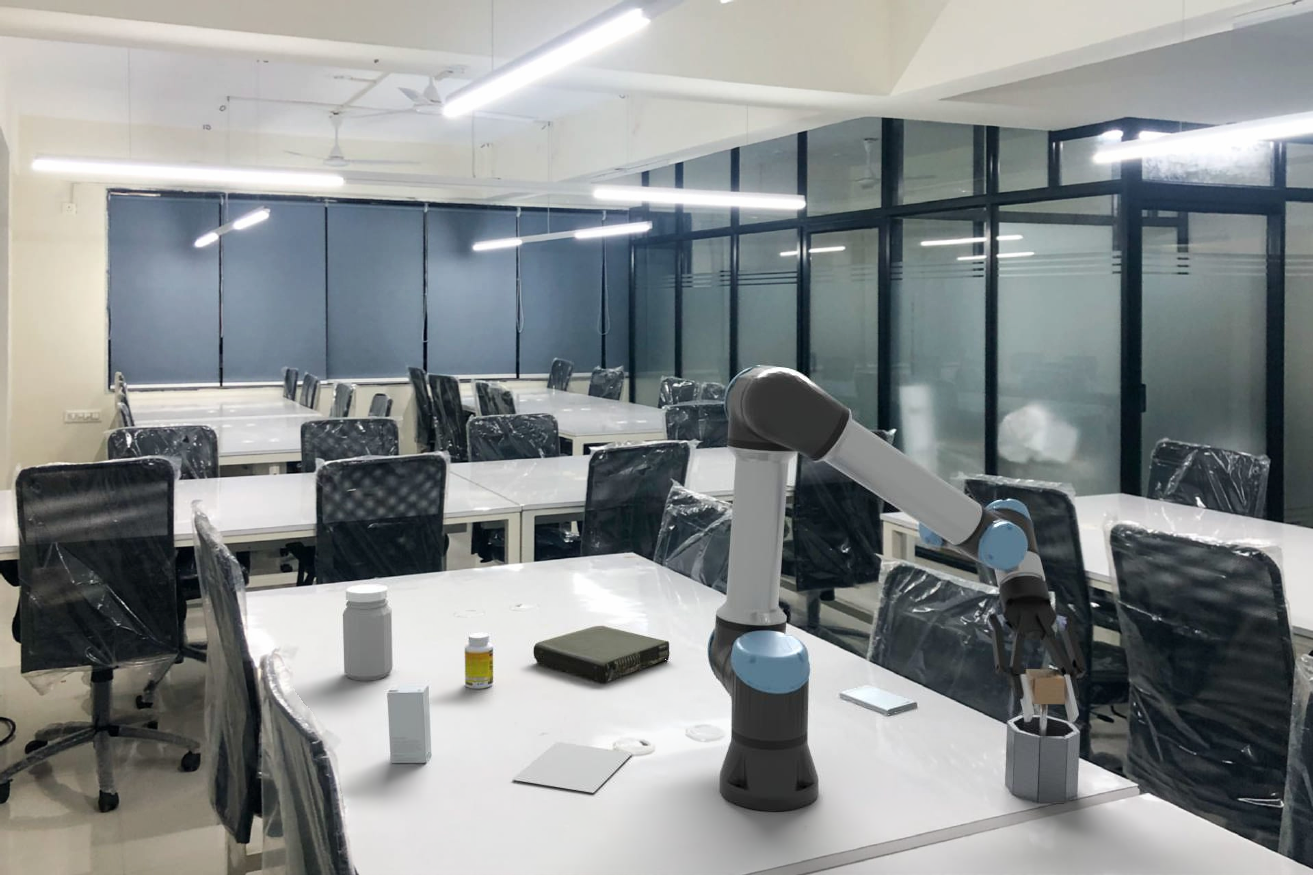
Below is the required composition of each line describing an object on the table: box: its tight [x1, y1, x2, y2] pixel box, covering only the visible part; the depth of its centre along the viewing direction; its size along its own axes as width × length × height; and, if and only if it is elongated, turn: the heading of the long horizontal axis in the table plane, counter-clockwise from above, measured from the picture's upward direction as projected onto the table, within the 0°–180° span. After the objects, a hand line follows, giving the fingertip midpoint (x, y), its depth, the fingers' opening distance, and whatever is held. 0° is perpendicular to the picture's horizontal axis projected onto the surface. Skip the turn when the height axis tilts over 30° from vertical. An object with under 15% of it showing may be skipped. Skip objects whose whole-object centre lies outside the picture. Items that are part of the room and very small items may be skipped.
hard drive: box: [839, 684, 918, 716], centre depth 206 cm, size 2×8×12 cm
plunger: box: [1025, 668, 1065, 736], centre depth 165 cm, size 7×7×16 cm
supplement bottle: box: [464, 632, 494, 690], centre depth 214 cm, size 6×6×10 cm
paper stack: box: [511, 732, 634, 794], centre depth 180 cm, size 23×25×1 cm
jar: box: [342, 583, 394, 681], centre depth 221 cm, size 10×10×18 cm
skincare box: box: [386, 684, 432, 764], centre depth 177 cm, size 6×4×12 cm
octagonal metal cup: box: [1004, 714, 1081, 804], centre depth 166 cm, size 10×10×10 cm
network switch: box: [532, 625, 670, 685], centre depth 230 cm, size 23×24×5 cm
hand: (1051, 717), depth 161 cm, fingers open, 6 cm apart
